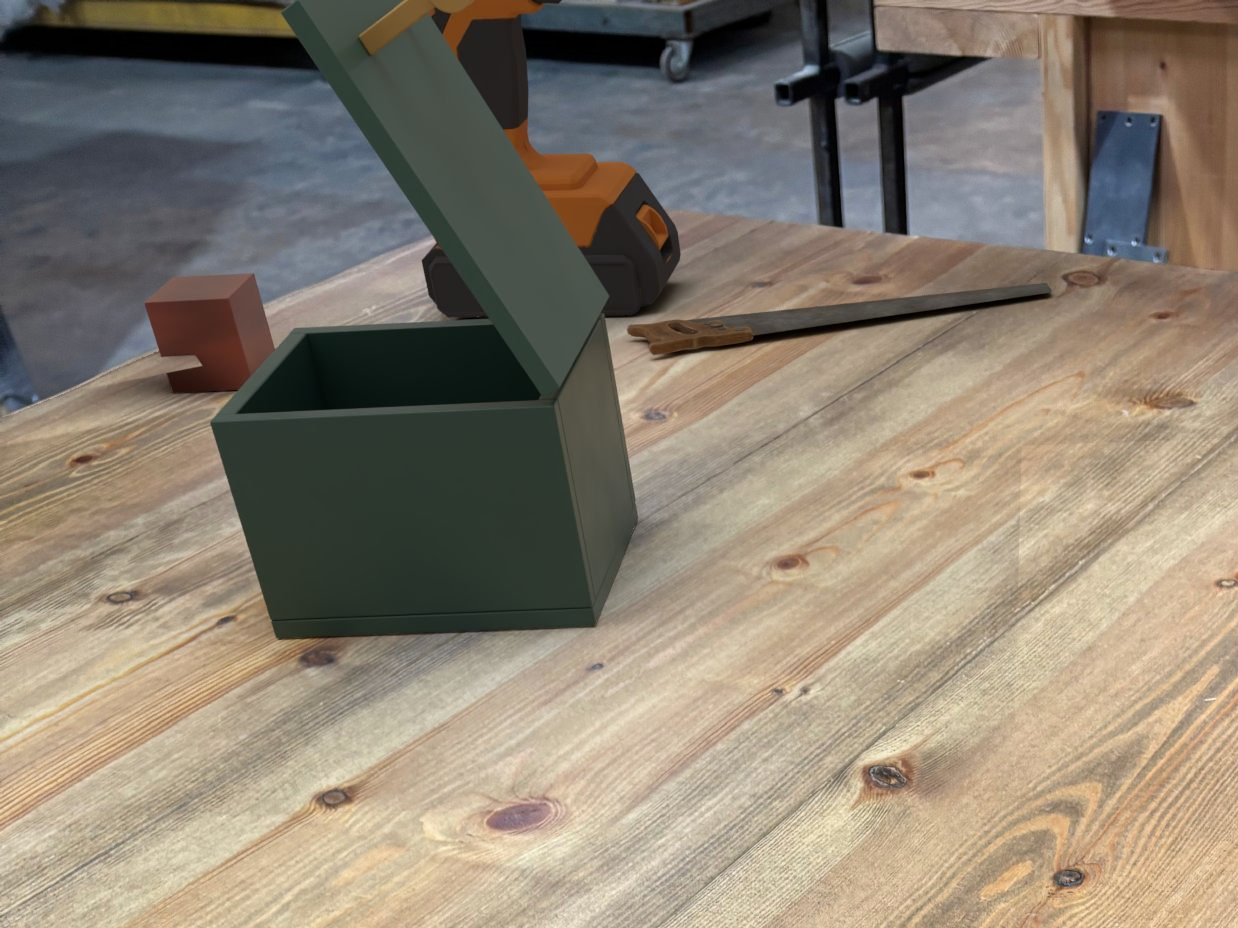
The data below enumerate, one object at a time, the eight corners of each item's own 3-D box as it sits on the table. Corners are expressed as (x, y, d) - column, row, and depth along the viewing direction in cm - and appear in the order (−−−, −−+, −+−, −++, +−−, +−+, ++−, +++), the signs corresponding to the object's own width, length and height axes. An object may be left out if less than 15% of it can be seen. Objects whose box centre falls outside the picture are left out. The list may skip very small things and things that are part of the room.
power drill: (787, 275, 116) (731, -256, 99) (766, 314, 111) (703, -241, 94) (440, 285, 119) (327, -232, 102) (403, 324, 113) (277, -216, 96)
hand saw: (1030, 275, 114) (1030, 262, 113) (1057, 295, 110) (1057, 283, 110) (626, 335, 109) (624, 322, 109) (642, 358, 106) (639, 345, 105)
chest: (275, 639, 81) (208, 421, 75) (348, 531, 90) (293, 327, 84) (596, 626, 81) (553, 405, 75) (638, 518, 89) (604, 312, 83)
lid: (279, 12, 66) (405, -87, 64) (367, -47, 75) (480, -135, 73) (543, 398, 75) (661, 321, 73) (595, 306, 83) (702, 235, 81)
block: (172, 393, 106) (143, 302, 103) (199, 365, 110) (172, 277, 106) (254, 389, 106) (228, 298, 103) (279, 362, 109) (254, 272, 106)
